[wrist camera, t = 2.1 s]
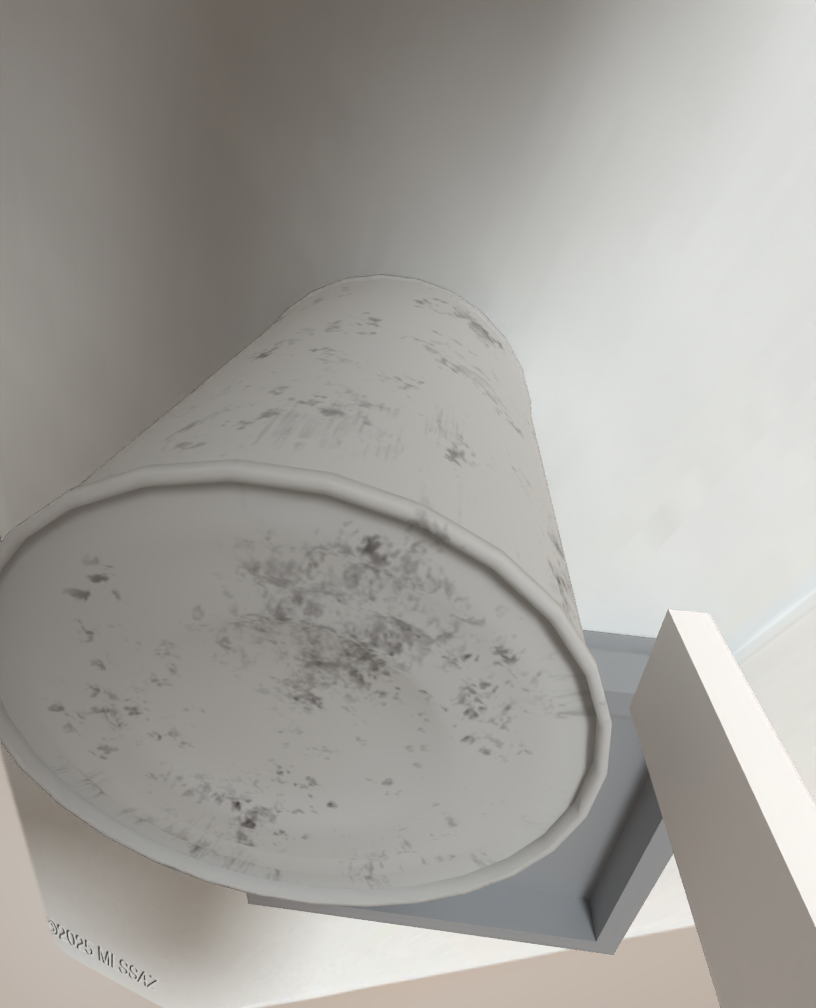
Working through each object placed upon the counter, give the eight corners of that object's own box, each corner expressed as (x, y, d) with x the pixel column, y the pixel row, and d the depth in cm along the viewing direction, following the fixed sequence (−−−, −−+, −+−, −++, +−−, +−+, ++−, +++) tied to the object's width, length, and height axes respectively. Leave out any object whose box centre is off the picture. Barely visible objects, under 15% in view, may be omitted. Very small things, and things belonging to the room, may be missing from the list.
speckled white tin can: (570, 491, 20) (684, 868, 9) (335, 572, 22) (216, 931, 12) (461, 212, 16) (441, 317, 5) (190, 356, 18) (-183, 612, 8)
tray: (233, 589, 23) (204, 642, 21) (725, 646, 22) (758, 708, 20) (265, 847, 34) (248, 903, 31) (602, 893, 33) (613, 954, 30)
